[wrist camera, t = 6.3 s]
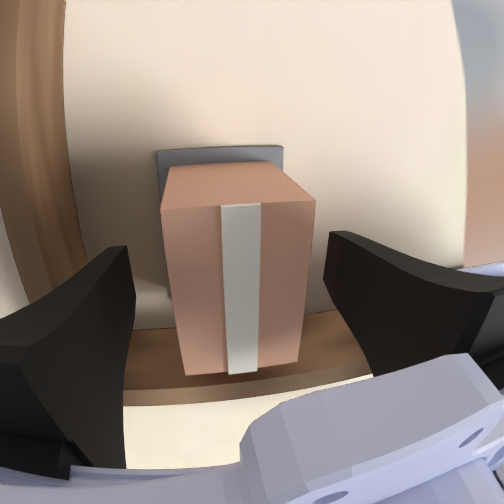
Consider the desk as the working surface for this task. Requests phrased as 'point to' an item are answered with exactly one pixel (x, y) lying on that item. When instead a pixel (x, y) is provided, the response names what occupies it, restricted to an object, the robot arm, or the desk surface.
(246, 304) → the block
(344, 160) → the desk surface
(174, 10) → the desk surface
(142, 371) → the l-shaped wooden frame
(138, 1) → the desk surface
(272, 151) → the pad
